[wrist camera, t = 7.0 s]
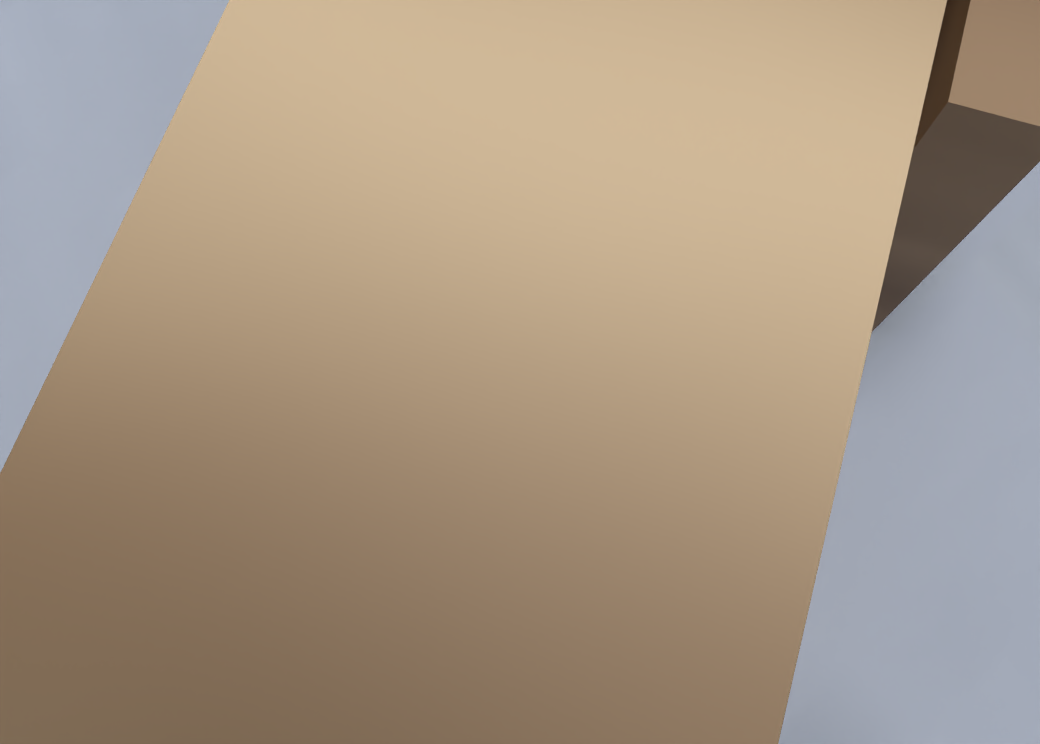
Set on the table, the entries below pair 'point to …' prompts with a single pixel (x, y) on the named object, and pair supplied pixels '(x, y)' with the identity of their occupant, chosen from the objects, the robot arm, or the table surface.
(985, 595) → the table surface
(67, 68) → the table surface
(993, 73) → the end cap
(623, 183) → the tan wooden block
